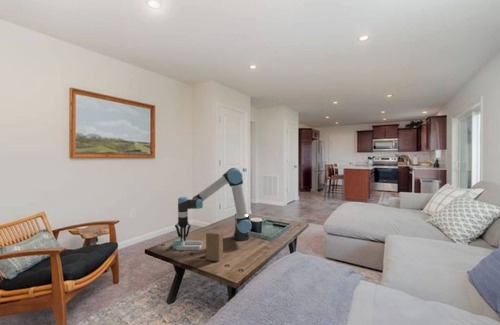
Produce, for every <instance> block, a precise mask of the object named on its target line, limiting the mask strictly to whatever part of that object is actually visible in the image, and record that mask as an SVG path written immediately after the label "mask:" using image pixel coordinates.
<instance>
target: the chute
mask: <svg viewBox="0 0 500 325" xmlns="http://www.w3.org/2000/svg"><path fill="white" fill-rule="evenodd" d="M203 244H204V242H203V240H186V241H185V245H184V246H177V247H176V248H177V249H176V251H200V250H201V248H202V246H203Z"/></svg>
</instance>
